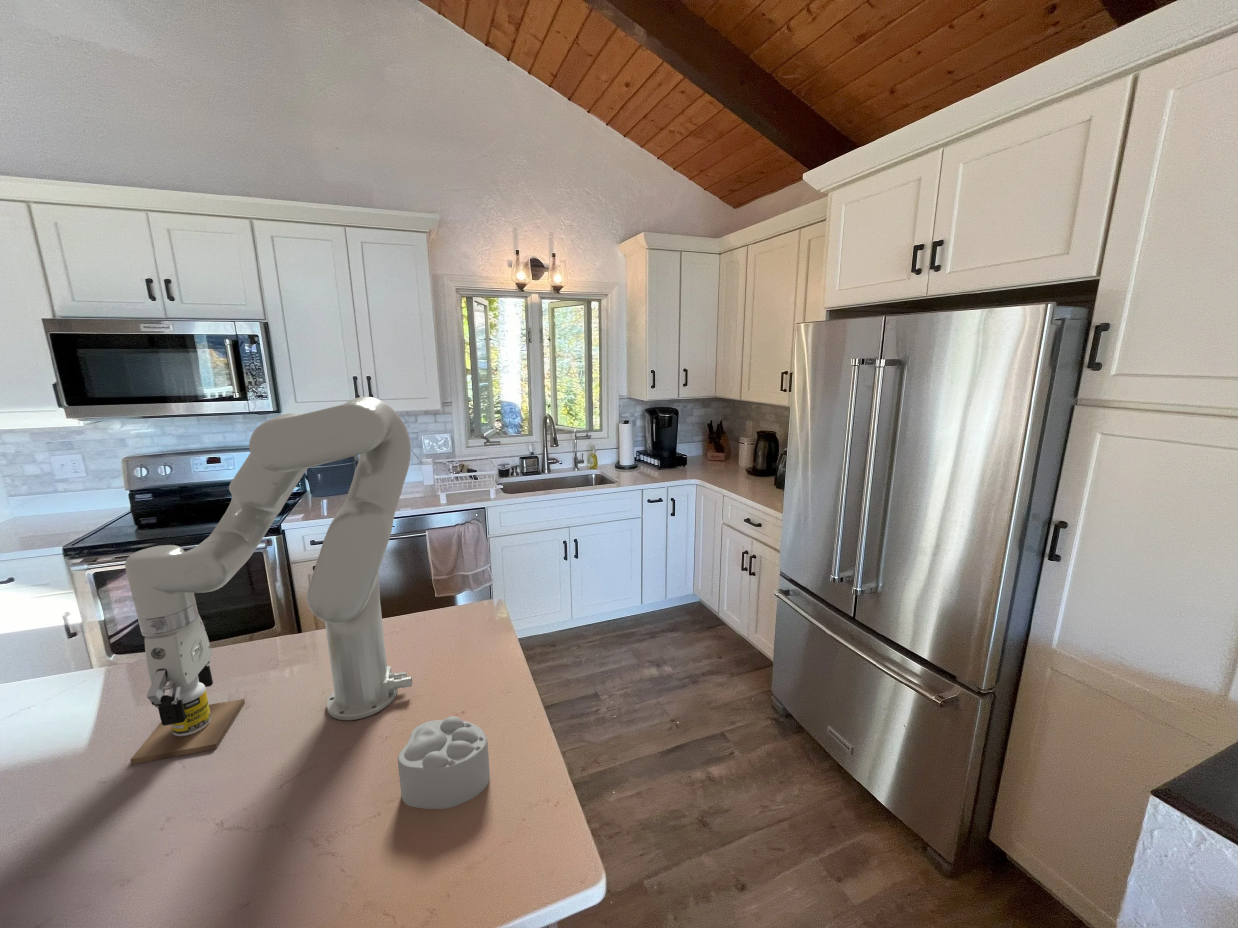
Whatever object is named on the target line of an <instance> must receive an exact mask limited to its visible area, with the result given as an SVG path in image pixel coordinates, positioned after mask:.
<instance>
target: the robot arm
mask: <svg viewBox="0 0 1238 928" xmlns="http://www.w3.org/2000/svg"><path fill="white" fill-rule="evenodd" d="M248 443H249V444H248V445H249V446H248V447H249V452H250V453H249V454H248V456H247V457H246V459H245V460H244V462H243V463H242V464H241V467H240V468H239V470H238V472H236V474H235V475H234V476H233V479H232V480H231V481H230V483H229V486H228V490H229V492H230V494H231V500H230V503H229V505H228V507H227V508H226V511H225V513H224V514H223V515H222V517H221V518H220V520H219V522H218V523H217V525H216V526H215V528H213V531H212V532H211V533H210V534H209V536H208V537H206V538H205V539H204V540H203V541H202V542H200V543H199V544H198V545H196V546H194V547H193V548H191V549H189V550H187V551H185V550H184V549H183V548H182V547H181V546H179V545H175V544H165V545H163V544H162V545H156V546H155V545H154V546H152V547H147V548H143V549H141V550H138V551H136V552H134V553H131V555H129V556H128V557H127V558H126V560H125V562H124V566H125V573H126V576H127V580H128V585H129V588H130V592H131V596H132V597H131V598H132V600H133V603H134V608H135V612H136V616H137V620H138V625H139V629H140V632H141V635H142V636H143V637H144V651H145V652H144V653H145V660H146V667H147V672H148V676H149V681H150V687H149V688H148V691H147V694H146V697H147V699H148V700H149V702H151V705H152V706H154V707H155V708H157V709H158V714H159V718H160V723H161V722H162V725H164V726H165V725H171V724H176V723H182V722H184V721H185V720H186V715H185V711H184V707H183V702H182V700H179V695H180V689H181V686H182V687H185V686H187V685H189V684H190V683H191V682H192V681H193V680H194V678H195V677H196V676H197V675H198V678H199V682H201V683H203V684H204V685H205V688H208V687H212V686H213V684H214V681H213V677H212V671H211V667H210V664H211V659H212V649H211V644H210V640H209V637H208V634H207V631H206V627H205V625H204V622H203V620H202V618H201V616H200V614H199V610H198V606H197V600H196V597H195V594H196V593H197V594H199V593H209V592H214V591H216V590H219V589H220V588H223V587H224V586H226V584H228V582H229V581H230V580H231V579H232V578H233V577H234V576H235V575H236V574H237V572H238V571H239V570H240V569H241V568H243V566H244V565H245V564H246V563H247V562H248V561H249V559H250V558H251V557H252V556H253V554H254V552H255V551H256V549H257V548H258V546H259V545H260V543H261V542H262V540H263V539H264V538H265V536H266V534H267V533H268V531H269V529H270V527H271V526H272V524H273V523H274V521H275V519H276V518H277V516H278V515H279V514H280V513H281V512H282V509H283V508H284V506H285V504H286V503H287V501H288V500H289V497H290V496H291V495H292V493H293V491H294V490H295V488H296V487H297V485H298V484H299V482H300V480H301V479H302V478H303V476H304V474H305V473H306V471H307V470H308V469H309V468H312V467H316V466H320V465H321V466H322V465H324V464H328V463H332V462H337V461H340V460H344V459H348V458H352V457H356V456H359V459H358V462H357V464H356V468H355V471H354V473H353V478H352V482H351V484H350V487H349V490H348V493H347V496H346V499H344V500H345V501H344V503H343V505H342V506H341V507H340V509H339V510H338V511H337V514H335V516H334V518H333V519H332V521H331V523H330V525H329V526H328V528H327V531H326V534H325V536H324V539H323V541H322V545H321V548H320V551H319V554H318V558H317V560H316V564H315V566H314V570H313V573H312V576H311V579H310V582H309V585H308V587H307V592H306V602H307V605H308V608H309V610H310V611H311V613H312V614H313V615H314V617H316V618H317V619H319V620H320V621H322V622H324V624H325V625H324V626H325V633H326V640H327V647H328V648H327V649H328V656H329V663H330V670H331V678H332V683H333V685H332V686H333V691H332V692H331V694H330V695H329V696H328V698H327V701H326V709H327V713H328V715H329V716H330V717H332V718H334V719H337V720H342V721H353V720H354V721H355V720H359V719H364V718H367V717H370V716H372V715H374V714H378V712H381V711H382V710H383V709H386V707H387V706H389V705H390V704H391V703H392V702H393V701H394V700H395V698H396V697H397V695H398V690H399V689H403V688H404V689H405V688H410V687H412V686H413V676H412V675H410V676H408V673H407V671H400V672H394V671H392V666H391V665H388V663H387V655H386V646H385V636H384V626H383V617H382V616H383V615H382V607H381V593H380V592H381V590H380V587H381V586H380V571H379V570H380V568H381V566H382V562H383V559H384V556H385V554H386V551H387V548H388V544H389V541H390V539H391V534H392V532H393V528H394V527H393V525H394V519H395V513H396V510H397V506H398V505H399V502H400V497H401V495H402V491H403V487H404V485H405V481H406V478H407V476H408V471H409V467H410V463H411V456H412V455H411V453H412V452H411V451H412V449H411V448H412V447H411V440H410V436H409V432H408V429H407V426H406V424H405V423H404V421H403V419H402V418H401V416H400V415H398V413H397V412H396V411H395V410H394V409H393V408H392V407H391V406H390V405H389V404H388V403H386V402H384V401H383V400H381V399H378V398H376V397H371V396H360V397H356V398H353V399H350V400H349V401H347V402H345V403H343V404H339V405H336V406H331V407H328V408H324V409H320V410H315V411H310V412H307V413H302V414H300V413H285V414H281V415H278V416H275V417H272V418H270V419H268V420H266V421H264V422H262V423H260V424H259V425H258V426H257V427H256V428H255V429H254V430H253V432H252V434H251V435H250V439H249V442H248ZM169 682H172V683H173V684H172V685H168V683H169ZM170 689H173V692H172V697H171V696H168V694H165V692H166V691H170Z"/></svg>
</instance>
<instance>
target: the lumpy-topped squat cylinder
mask: <svg viewBox="0 0 1238 928" xmlns="http://www.w3.org/2000/svg"><path fill="white" fill-rule="evenodd" d="M489 757H490V756H489V744H488V737H487V735H486V733H485V732H484V730H483V729H482V728H481V727H480V726H478V725H476V724H474V723H472V722H470V721H467V720H462V719H461V718H460V717H458V716H455V715H454V716H453V715H451V716H447V717H446V718H444V719H438V720H437V719H435V720H427V721H426V722H423V723H420V724H419V725H417V726H416V727H414V729H413V730H412V731H411V733H410V735H409V739H408V741H407V743H406V744H405V745H404V747H403V748H402V749H401V750H400V752H399V753H398V756H397V764H398V765H397V766H398V768H397V769H398V775H399V783H400V793H401V794H400V795H401V800H402V802H403V803H404V804H405V805H407V806H409V807H411V808H416V809H417V808H418V809H426V810H427V809H428V810H438V809H439V810H440V809H441V810H442V809H451V808H454V807H457V806H459V805H462V804H465V803H466V801H467V802H468V801H471V800H472V799H474V798H475V797H477V796H478V795H479V794H481V793H482V792H483V791H484V790H485V789H486V788H487V786H488V785H489V783H490V778H491V777H490V776H491V775H490V774H491V773H490V772H491V771H490V762H489V761H490V760H489V759H490V758H489ZM470 799H471V800H470Z"/></svg>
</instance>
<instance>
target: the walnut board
mask: <svg viewBox="0 0 1238 928" xmlns="http://www.w3.org/2000/svg"><path fill="white" fill-rule="evenodd" d="M245 704H246V702H245V698H241V699H236V700H235V699H234V700H229V701H223V702H217V703H212V704H209V709H210V715H211V720H210V722H209V724H208V725H207V726H206V727H204V728H203V729H201V730H200V731H198V732H196V733H194V734H191V735H187V736H176V735H174V734H173V732H172V728H171V725H165V726H164V725H162V722H161V721H160V723H159V724H158V725H157V726H156V727H155V729H154V730H153V731H152V733H151V734H150V735H149V736H148V737H147V738H146V739H145V741H144V742H143V744H142V745H141V746H140V747H139V748H138V749H137V750H136V752H135V753H134V754H133V755H132V757H131V758H130V759H129V760H130V763H131V764H130V765H137V764H141V763H147V762H152V761H158V760H163V759H169V758H174V757H179V756H180V757H181V756H185V755H189V754H190V755H191V754H195V753H201V752H202V753H203V752H207V751H212V750H216V749H218V748H219V746H220V744H221V743H222V741H223V740H224V738H225V736H226V734H228V731H229V730H230V729H231V726H232V725H233V724H234V721H235V720H236V719H237V717H238V715H239V714H240V712H241V711H242V709H243V708H244V706H245Z"/></svg>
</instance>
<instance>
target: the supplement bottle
mask: <svg viewBox="0 0 1238 928" xmlns="http://www.w3.org/2000/svg"><path fill="white" fill-rule="evenodd" d="M172 684H173V683H172V682H168V683H167V685H172ZM172 692H173V689H170V690H169V692H168V693H167V695H168V696H171V697H172ZM179 700H182V702H183V707H184V711H185V715H186V720H185V721H184V722H182V723H176V724H171V728H172V732H173V734H174V735H176V736H187V735H191V734H194V733H196V732H198V731H200V730H201V729H203V728H204V727H206V726H207V725H208V724H209V722H210V720H211V715H210V709H209V705H210V704H209V698H208V693H207V687H205V685H204V684H203V683H201V682H199V678H198V675H197V676H196V677H195V678H194V680H193V681H192V682H191V683H190V684H189V685H187V686H185V687H182V686H181V689H180V695H179Z"/></svg>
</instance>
